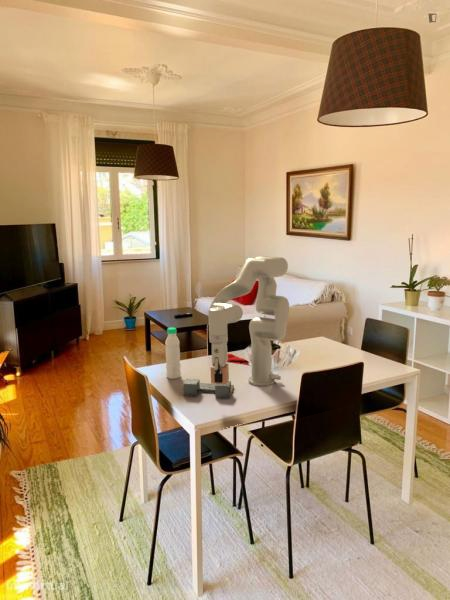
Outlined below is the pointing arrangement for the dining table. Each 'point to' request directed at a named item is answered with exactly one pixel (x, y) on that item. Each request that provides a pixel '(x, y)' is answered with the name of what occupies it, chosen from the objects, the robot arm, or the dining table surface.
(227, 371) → the block
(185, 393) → the gray dumbbell
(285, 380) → the dining table surface
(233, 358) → the cloth
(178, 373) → the water bottle
